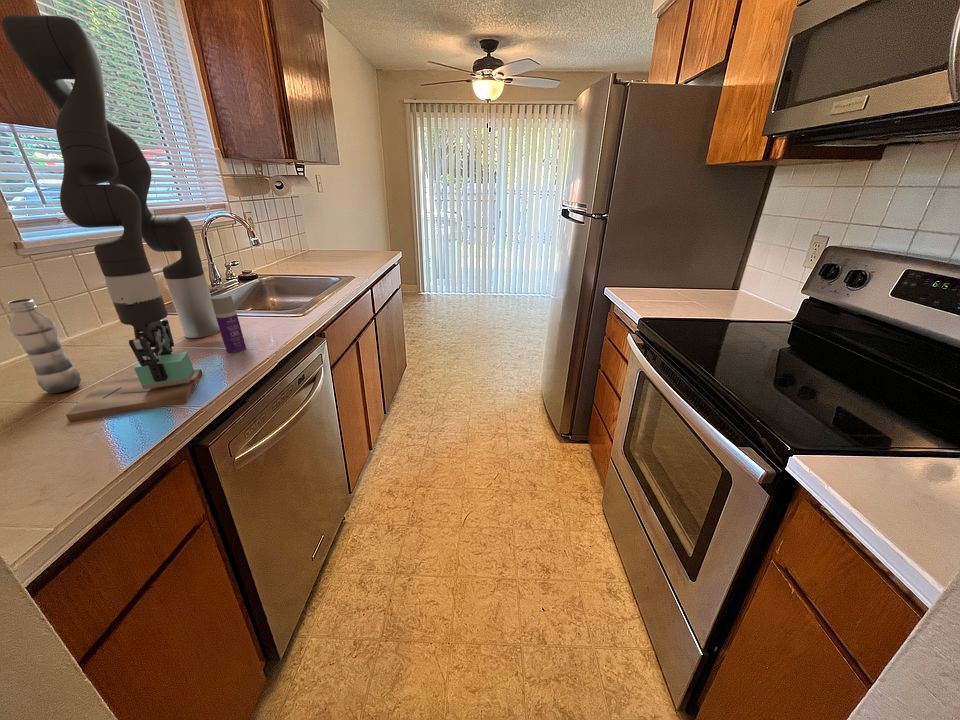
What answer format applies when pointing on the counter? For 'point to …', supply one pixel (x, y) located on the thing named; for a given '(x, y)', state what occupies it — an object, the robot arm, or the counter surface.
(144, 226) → the robot arm
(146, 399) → the oak board
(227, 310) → the container
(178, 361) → the block
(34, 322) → the plastic bottle
